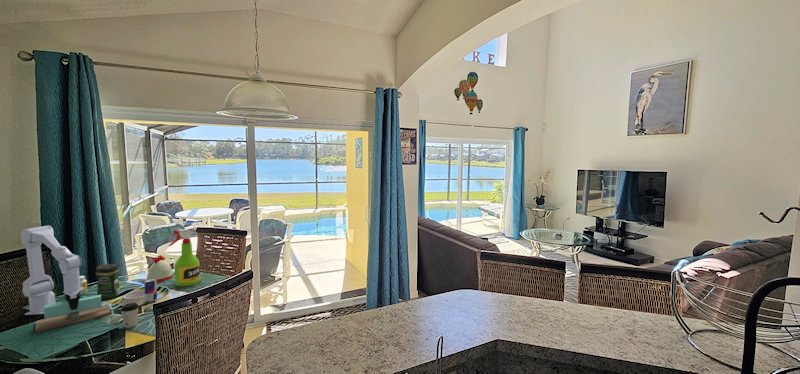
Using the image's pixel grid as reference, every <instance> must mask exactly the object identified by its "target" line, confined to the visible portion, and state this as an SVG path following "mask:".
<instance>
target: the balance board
mask: <svg viewBox="0 0 800 374" xmlns="http://www.w3.org/2000/svg"><path fill="white" fill-rule="evenodd" d="M111 314H112V312H111V310H110V306H109V305H108V304H104V305H102V306H101V307H96V308H91V309H87V310H82V311H77V312H72V313H68V314H63V315H58V316H54V317H49V318H44V319H40V320H36V321H35V328H34V330H35V333H40V331H41V332H45V331H48V330H49V331H50V330H53V329H57V328H60V327H65V326H68V325H69V326H70V325H73V324H76V323H81V322H85V321H89V320H93V319H96V318H100V317H105V316H108V315H109V316H110V315H111Z"/></svg>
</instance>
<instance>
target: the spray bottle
mask: <svg viewBox="0 0 800 374" xmlns="http://www.w3.org/2000/svg"><path fill="white" fill-rule="evenodd" d="M191 234H194V232H193V231H191V230H189V229H176V230H173V235H176V238H174V239H173V240H172V242H170V244H169V245H168V247H171V246H174V244H175V243H177V242H178V241H180V240H181V239H182V243H181V255H180V256H179V257H178V259H176V261H175V262H174V265H173V268H174V269H173V271H174V285H175V286H177V287H190V286H193V285H196V284H198V283H200V282H201V266H200V265H201V264H200V260H199V258H198V257H196V256H195V255H194V254H193V246H192V241H191Z"/></svg>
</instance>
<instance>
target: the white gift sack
mask: <svg viewBox="0 0 800 374" xmlns="http://www.w3.org/2000/svg"><path fill="white" fill-rule="evenodd" d="M147 271H148V273H147V276H146V280H147V279H156V283H158V282H163V281H164V282H165V281H168V280H170V279H172V278H173V277H174V270H173V268H172V267H171V265H170V263H168V262H167V261H166V257H165V256H163V255H161V254H160V255H158V256H155V258H154V259H153V263H152V265H150V267H149V268H148V269H147Z"/></svg>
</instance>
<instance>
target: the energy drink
mask: <svg viewBox="0 0 800 374" xmlns="http://www.w3.org/2000/svg"><path fill="white" fill-rule="evenodd" d="M143 285H144V302H145V301H146V302H153V301H155V300H157V301H158V291H157V287H158V286H157V282H156V279H147V278H146V279H145V280H144V284H143ZM146 302H145V303H146ZM155 302H156V301H155ZM153 303H154V302H153Z"/></svg>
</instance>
